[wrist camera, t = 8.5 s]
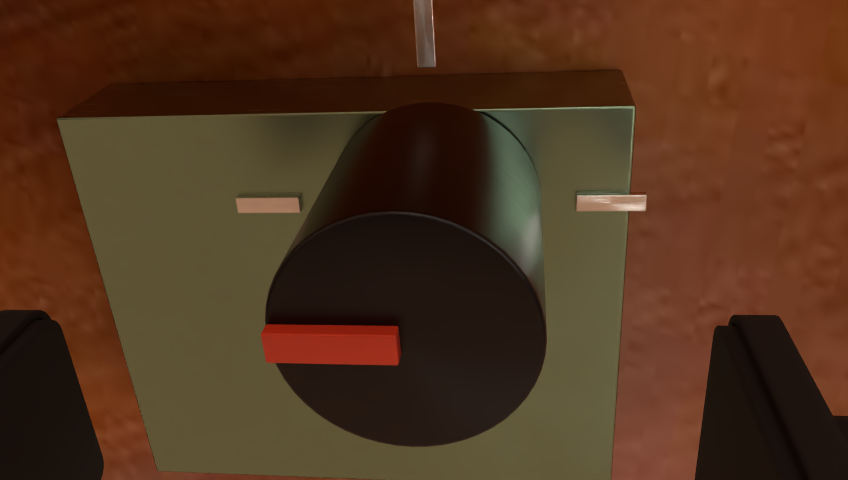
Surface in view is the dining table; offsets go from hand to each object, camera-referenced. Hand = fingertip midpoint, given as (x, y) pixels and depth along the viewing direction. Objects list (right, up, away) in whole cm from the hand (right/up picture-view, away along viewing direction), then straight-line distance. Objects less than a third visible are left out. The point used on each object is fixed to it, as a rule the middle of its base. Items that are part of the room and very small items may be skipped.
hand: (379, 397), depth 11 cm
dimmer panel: (-1, +3, +9) cm, 9 cm away
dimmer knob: (+1, +3, +5) cm, 6 cm away
